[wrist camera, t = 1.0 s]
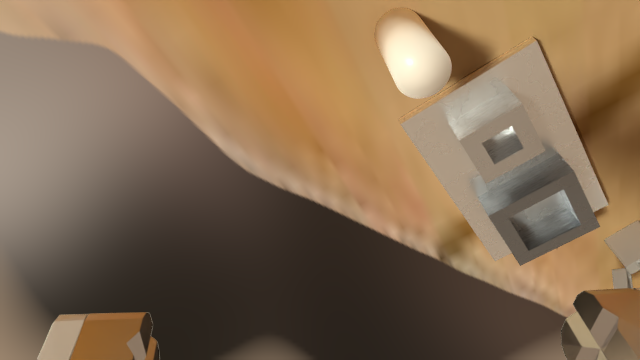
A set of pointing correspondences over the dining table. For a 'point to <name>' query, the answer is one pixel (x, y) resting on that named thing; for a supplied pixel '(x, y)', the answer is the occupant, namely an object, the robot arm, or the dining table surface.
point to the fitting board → (510, 156)
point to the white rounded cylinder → (412, 53)
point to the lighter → (625, 254)
